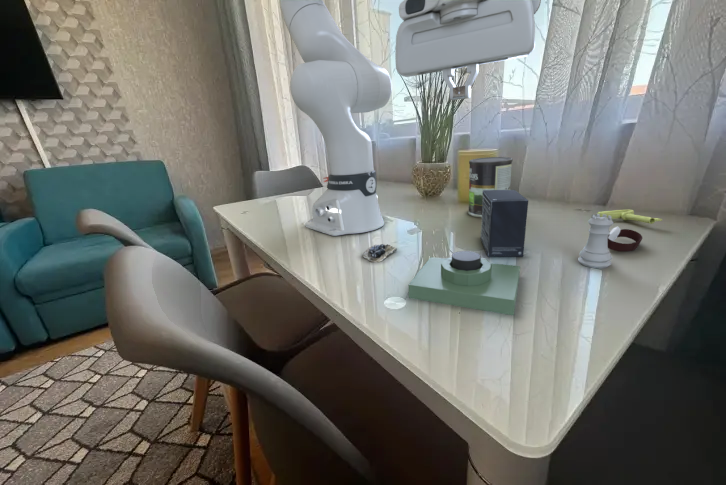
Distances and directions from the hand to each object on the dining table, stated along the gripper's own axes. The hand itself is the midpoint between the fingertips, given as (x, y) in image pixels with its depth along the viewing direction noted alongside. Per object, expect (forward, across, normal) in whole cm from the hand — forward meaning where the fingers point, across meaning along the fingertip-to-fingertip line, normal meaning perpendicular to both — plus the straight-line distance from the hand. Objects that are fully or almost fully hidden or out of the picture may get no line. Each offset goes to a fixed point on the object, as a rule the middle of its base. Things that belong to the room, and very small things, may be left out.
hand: (460, 99), depth 51 cm
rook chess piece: (+27, -21, -3) cm, 35 cm away
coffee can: (+27, -1, -33) cm, 43 cm away
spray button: (+24, -4, +12) cm, 27 cm away
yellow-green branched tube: (+26, -30, -30) cm, 49 cm away
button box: (+27, -4, +12) cm, 30 cm away
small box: (+27, -6, -7) cm, 29 cm away
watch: (+27, -26, -12) cm, 40 cm away
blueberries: (+27, +15, +3) cm, 31 cm away
